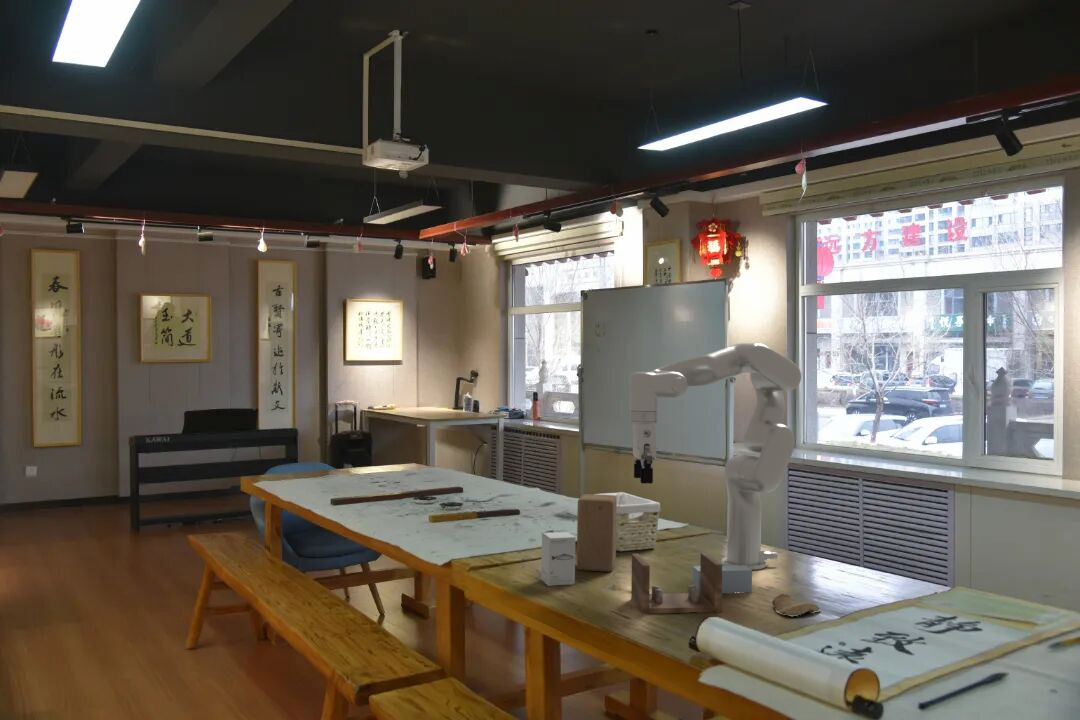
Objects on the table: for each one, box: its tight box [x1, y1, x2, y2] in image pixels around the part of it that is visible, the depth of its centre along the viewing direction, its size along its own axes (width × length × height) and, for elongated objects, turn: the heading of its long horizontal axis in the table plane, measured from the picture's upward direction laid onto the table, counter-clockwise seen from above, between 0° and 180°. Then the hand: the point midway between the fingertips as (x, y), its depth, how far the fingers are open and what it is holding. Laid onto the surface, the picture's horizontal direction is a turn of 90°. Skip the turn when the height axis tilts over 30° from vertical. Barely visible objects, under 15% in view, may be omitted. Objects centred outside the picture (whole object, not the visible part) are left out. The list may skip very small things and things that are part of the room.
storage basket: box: [595, 491, 661, 552], centre depth 276 cm, size 24×16×15 cm
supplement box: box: [540, 531, 576, 587], centre depth 229 cm, size 7×7×13 cm
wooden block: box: [576, 493, 617, 573], centre depth 245 cm, size 10×10×20 cm
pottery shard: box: [771, 593, 821, 616], centre depth 206 cm, size 11×4×10 cm
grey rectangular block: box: [692, 565, 753, 594], centre depth 222 cm, size 14×5×6 cm, turn 96°
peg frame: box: [630, 552, 723, 614], centre depth 209 cm, size 19×12×11 cm, turn 96°
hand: (643, 480), depth 235 cm, fingers open, 9 cm apart
